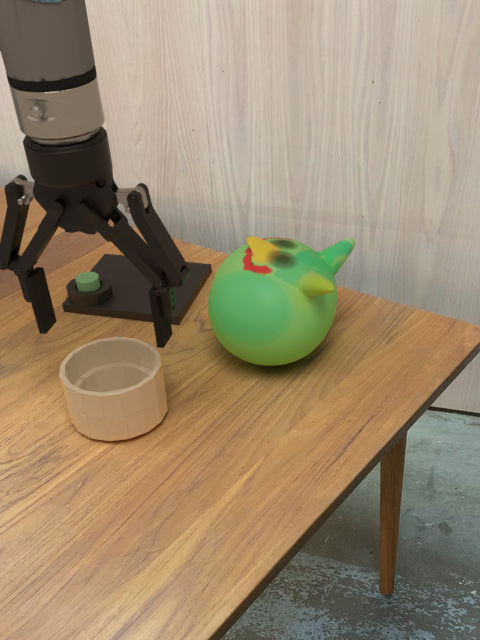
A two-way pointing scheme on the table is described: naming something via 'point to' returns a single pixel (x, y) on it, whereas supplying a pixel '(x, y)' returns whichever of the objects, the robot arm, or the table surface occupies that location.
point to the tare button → (87, 281)
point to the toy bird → (275, 298)
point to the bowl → (114, 388)
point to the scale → (130, 291)
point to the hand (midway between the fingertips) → (105, 334)
